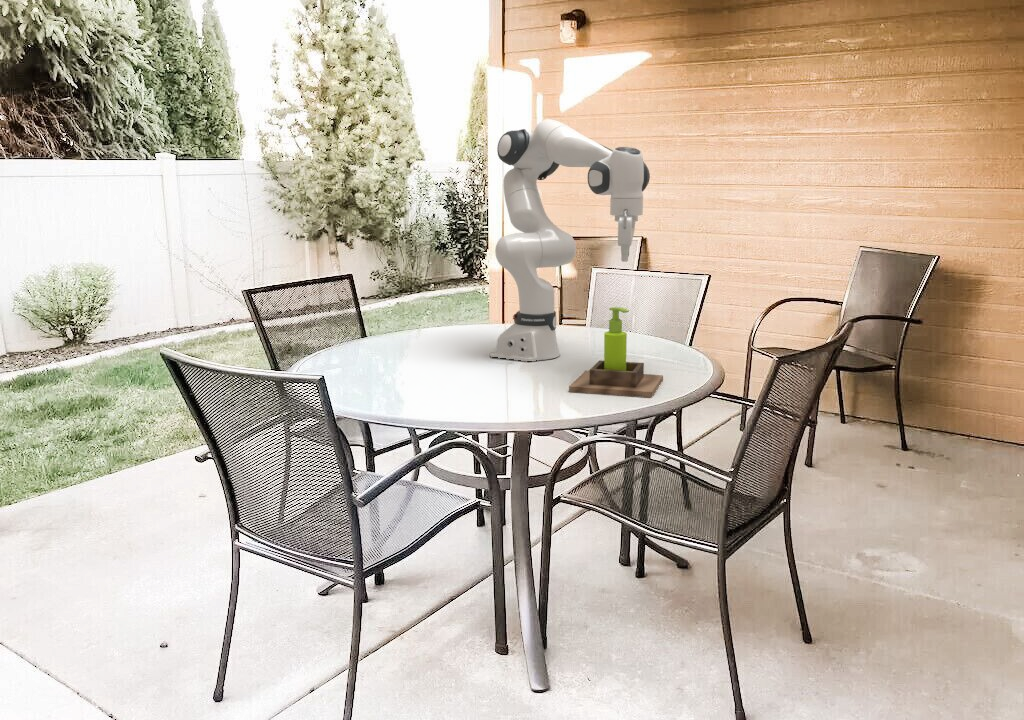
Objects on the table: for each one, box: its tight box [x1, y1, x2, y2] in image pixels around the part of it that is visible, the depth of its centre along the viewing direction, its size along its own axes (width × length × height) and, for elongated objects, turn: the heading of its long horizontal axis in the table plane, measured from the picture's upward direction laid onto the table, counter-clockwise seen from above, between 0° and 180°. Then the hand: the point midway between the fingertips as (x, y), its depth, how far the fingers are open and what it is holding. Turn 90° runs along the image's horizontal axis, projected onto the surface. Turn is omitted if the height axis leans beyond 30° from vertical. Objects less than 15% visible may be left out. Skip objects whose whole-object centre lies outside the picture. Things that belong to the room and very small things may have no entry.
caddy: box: [568, 359, 664, 398], centre depth 210 cm, size 22×18×6 cm
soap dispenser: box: [603, 306, 630, 371], centre depth 208 cm, size 6×7×20 cm
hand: (625, 259), depth 217 cm, fingers open, 8 cm apart
